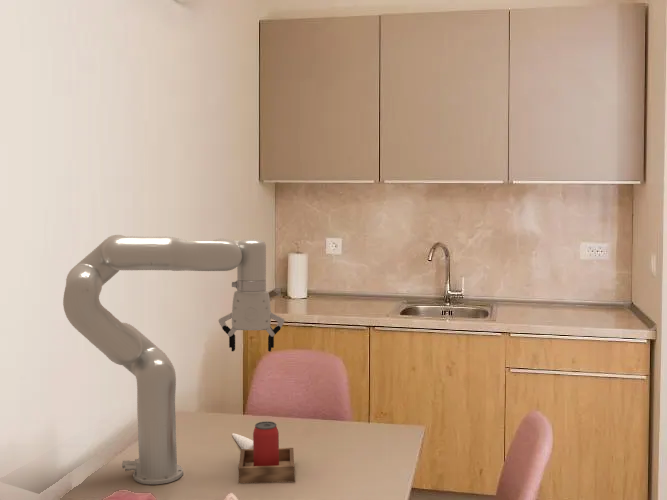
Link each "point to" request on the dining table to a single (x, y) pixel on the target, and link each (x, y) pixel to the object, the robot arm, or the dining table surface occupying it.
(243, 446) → the unicorn horn
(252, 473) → the crate
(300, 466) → the dining table surface
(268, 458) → the beer can
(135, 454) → the dining table surface
